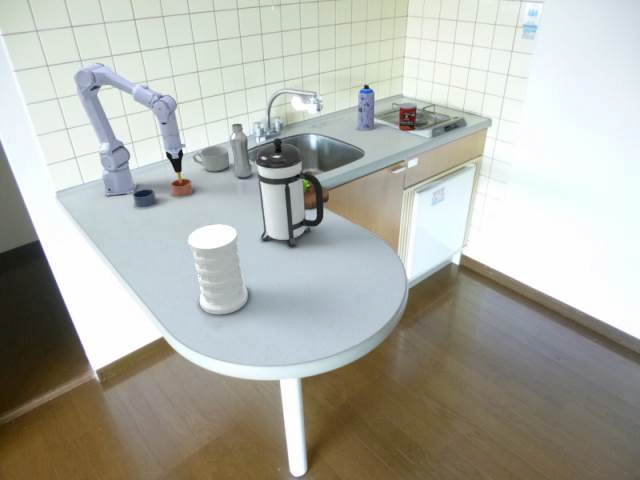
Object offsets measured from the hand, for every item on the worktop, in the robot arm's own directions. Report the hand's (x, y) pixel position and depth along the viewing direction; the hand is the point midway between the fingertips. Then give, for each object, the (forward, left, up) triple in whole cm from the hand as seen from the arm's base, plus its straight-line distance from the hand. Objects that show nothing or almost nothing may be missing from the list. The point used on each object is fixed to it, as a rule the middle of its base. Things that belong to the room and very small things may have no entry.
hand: (178, 171), depth 164 cm
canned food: (+100, +48, -9) cm, 111 cm away
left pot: (-12, -6, -8) cm, 16 cm away
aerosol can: (+81, +54, -9) cm, 98 cm away
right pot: (0, 0, -8) cm, 9 cm away
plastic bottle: (+22, +10, -9) cm, 26 cm away
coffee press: (+35, -39, -9) cm, 53 cm away
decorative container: (+16, -66, -9) cm, 68 cm away
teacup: (+10, +20, -9) cm, 24 cm away
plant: (+40, -14, -9) cm, 43 cm away
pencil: (0, 0, -4) cm, 4 cm away
